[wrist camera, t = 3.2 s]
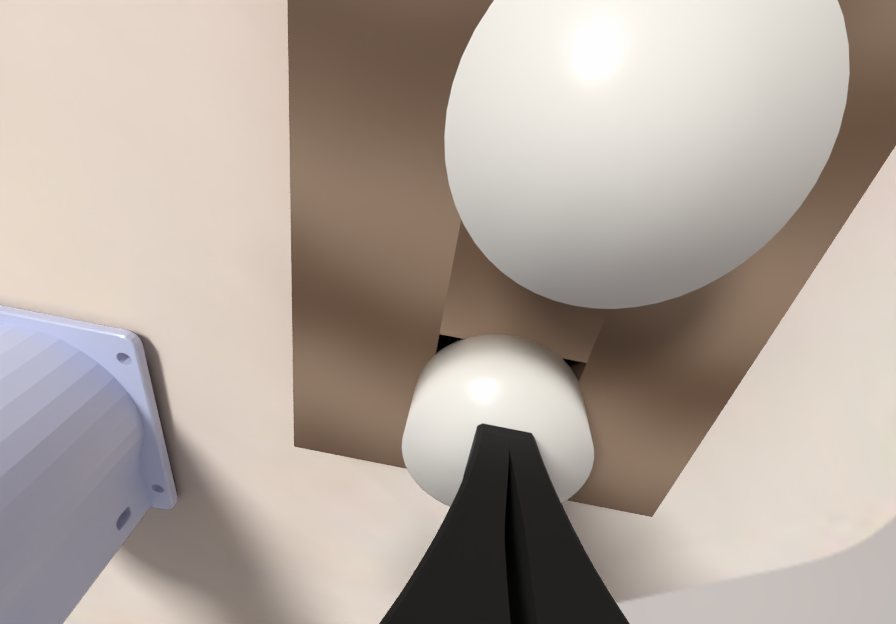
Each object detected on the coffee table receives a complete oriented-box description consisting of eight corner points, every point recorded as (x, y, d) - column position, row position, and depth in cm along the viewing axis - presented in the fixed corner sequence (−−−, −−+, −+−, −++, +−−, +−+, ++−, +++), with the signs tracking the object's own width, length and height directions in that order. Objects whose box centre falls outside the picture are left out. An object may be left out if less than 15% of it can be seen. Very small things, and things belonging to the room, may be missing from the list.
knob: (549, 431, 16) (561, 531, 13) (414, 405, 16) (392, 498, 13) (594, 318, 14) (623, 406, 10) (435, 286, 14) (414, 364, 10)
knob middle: (655, 241, 10) (725, 335, 7) (446, 201, 10) (421, 275, 7) (767, -16, 8) (955, -52, 5) (493, -70, 8) (485, -146, 5)
